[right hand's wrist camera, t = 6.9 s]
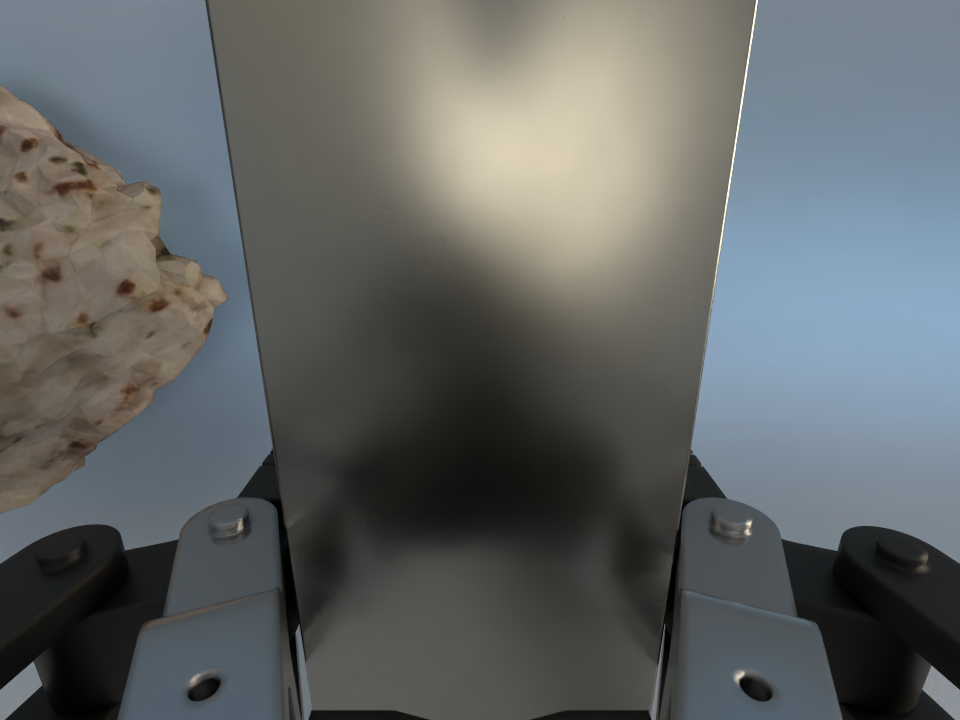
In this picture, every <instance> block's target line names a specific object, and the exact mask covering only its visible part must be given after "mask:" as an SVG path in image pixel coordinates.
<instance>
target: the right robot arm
mask: <svg viewBox="0 0 960 720" xmlns="http://www.w3.org/2000/svg"><path fill="white" fill-rule="evenodd" d="M298 625H299V617H298V610H297V603H296V597H295V590H294V583H293V577H292V570H291V564H290V557H289V550H288V544H287V537H286V530H285V524H284V517H283V511H282V504H281V497H280V491H279V484H278V477H277V471H276V464H275V458H274V451H273V449H272V450H271V454H270V455H268V456H267V457H266V459H265V460H264V461H263V463H262V466H260V467H259V468H258V470H257V471H256V472H255V474H254V475H253V477H252V478H251V479H250V481H249V482H248V483H247V485H246V486H245V488H244V489H243V490H242V492H241V493H240V494H239V496H238V497H237V498H236V499H230V500H226V501H223V502H220V503H216V504H214V505H212V506H209V507H207V508H205V509H203V510H201V511H200V512H198V513H197V514H195V515H194V516H193V517H192V518H190V519H189V520H188V521H187V522H186V523H185V525H184V526H183V528H182V529H181V532H180V535H179V539H178V540H174V541H170V542H166V543H161V544H156V545H151V546H146V547H141V548H136V549H131V550H126V551H125V549H124V545H123V542H122V538H121V535H120V533H119V531H118V530H117V529H115V528H113V527H111V526H107V525H99V524H97V525H83V526H78V527H73V528H69V529H65V530H62V531H59V532H56V533H53V534H51V535H48V536H46V537H44V538H42V539H40V540H38V541H36V542H34V543H32V544H30V545H29V546H27V547H25V548H24V549H22V550H21V551H19V552H18V553H16V554H15V555H13V556H12V557H10V558H9V559H7V560H6V561H4V562H3V563H1V564H0V689H2V688H3V687H4V686H5V685H6V684H7V683H8V682H10V681H11V680H12V679H13V678H14V677H15V676H17V675H18V674H19V673H20V672H21V671H22V670H23V669H25V668H26V667H27V666H28V665H29V664H30V663H32V662H33V661H34V664H35V666H36V669H37V672H38V674H39V677H40V679H41V682H42V686H41V687H40V688H39V689H38V690H37V691H36V692H35V693H34V694H33V695H31V696H30V697H29V698H28V699H27V700H26V701H25V702H24V703H23V704H22V705H21V706H20V707H18V708H17V709H16V710H15V711H14V712H13V713H12V714H11V715H10V716H9V717H8V718H7V719H5V720H304V713H303V701H302V690H301V678H300V666H299V654H298V644H297V637H296V630H297V628H298ZM931 665H932V666H933V667H934V668H935V669H937V670H938V671H939V672H940V673H941V674H942V675H943V676H945V677H946V678H947V679H948V680H949V681H950V682H952V683H953V684H954V685H955V686H956V687H957V688H958V689H960V564H959V563H957V562H956V561H954V560H953V559H951V558H950V557H948V556H947V555H945V554H944V553H942V552H941V551H939V550H938V549H936V548H934V547H933V546H931V545H929V544H927V543H925V542H924V541H922V540H920V539H917V538H915V537H913V536H910V535H907V534H905V533H902V532H898V531H895V530H891V529H887V528H882V527H874V526H859V527H853V528H850V529H848V530H846V531H845V532H844V533H843V535H842V537H841V540H840V544H839V547H838V551H834V550H829V549H824V548H819V547H814V546H809V545H804V544H799V543H795V542H791V541H787V540H783V539H781V535H780V532H779V529H778V528H777V526H776V525H775V523H774V522H773V521H772V520H771V519H770V518H768V517H767V516H766V515H765V514H763V513H762V512H760V511H759V510H757V509H755V508H753V507H751V506H748V505H746V504H744V503H740V502H737V501H734V500H730V499H727V498H726V497H725V495H724V494H723V493H722V491H721V490H720V488H719V487H718V486H717V484H716V483H715V482H714V480H713V479H712V478H711V476H710V475H709V474H708V472H707V471H706V469H705V468H704V467H701V463H700V461H699V460H698V459H697V457H696V456H695V455H693V452H692V450H690V457H689V464H688V470H687V477H686V484H685V490H684V497H683V504H682V510H681V517H680V524H679V530H678V537H677V544H676V550H675V557H674V564H673V570H672V577H671V584H670V590H669V597H668V604H667V610H666V617H665V631H664V637H663V644H662V654H661V666H660V678H659V690H658V701H657V713H656V720H955V719H953V718H952V717H951V716H950V715H949V714H948V713H947V712H946V711H945V710H944V709H943V708H942V707H940V706H939V705H938V704H937V703H936V702H935V701H934V700H933V699H932V698H931V697H930V696H929V695H927V694H926V693H925V692H924V691H923V690H922V688H923V686H924V683H925V681H926V678H927V675H928V673H929V670H930V668H931ZM309 720H429V719H425V718H422V717H418V716H414V715H410V714H407V713H403V712H399V711H395V710H312V711H311V714H310V717H309ZM531 720H651V717H650V714H649V711H648V710H565V711H561V712H557V713H553V714H550V715H546V716H542V717H538V718H535V719H531Z"/></svg>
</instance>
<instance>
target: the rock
mask: <svg viewBox="0 0 960 720" xmlns="http://www.w3.org/2000/svg"><path fill="white" fill-rule="evenodd" d="M161 203H162V196H161V194H160V191H159V189H158V188H156V187H154V186H152V185H150V184H148V183H145V182H139V183H134V184H130V185H126V184H125V183H124V181H123V179H122V177H121V175H120V174H119V173H118V171H117V170H116V169H115V168H113V167H111V166H109V165H108V164H106V163H104V162H102V161H101V160H99V159H97V158H96V157H94V156H92V155H91V154H89V153H87V152H85V151H83V150H81V149H80V148H78V147H76V146H74V145H72V144H70V143H68V142H66V141H64V139H63V138H62V136H61V135H60V133H59V132H58V130H57V129H56V128H55V127H54V126H53V125H51V124H50V123H49V122H48V121H47V120H46V119H45V118H44V117H43V116H42V115H40V114H39V113H38V112H37V111H36V110H35V109H34V108H33V107H32V106H31V105H29V104H27V103H24V102H23V101H21V100H20V99H19V98H17V97H16V96H15V95H13V94H12V93H11V92H9V91H8V90H6V89H5V88H4V87H1V86H0V513H3V512H7V511H10V510H13V509H16V508H19V507H22V506H25V505H28V504H30V503H31V502H33V501H34V500H35V499H37V498H38V497H39V496H41V495H42V494H43V493H45V492H46V491H47V490H48V489H49V488H50V487H51V486H52V485H54V484H56V483H58V482H60V481H62V480H64V479H65V478H66V477H67V476H68V475H69V474H70V473H71V472H73V471H75V470H77V469H79V468H81V467H83V466H85V456H86V455H88V454H89V453H91V452H92V451H94V450H95V449H96V446H97V444H98V443H99V442H101V441H102V440H104V439H106V438H107V437H109V436H110V435H112V434H113V433H115V432H116V431H117V430H118V429H120V428H121V427H122V426H124V425H125V424H126V423H127V422H129V421H130V420H131V419H133V418H134V417H135V416H137V415H138V414H139V413H140V412H141V411H142V410H144V409H145V408H146V407H147V406H148V405H149V404H151V403H152V402H153V394H154V393H155V390H156V389H158V388H160V387H162V386H164V385H166V384H168V383H170V382H172V381H173V380H175V379H176V378H177V376H178V375H179V374H180V373H181V372H182V370H183V369H184V368H185V367H186V365H187V364H188V363H189V362H190V361H191V359H192V358H193V357H194V356H195V355H196V354H197V352H198V351H199V350H200V349H201V348H202V347H203V345H204V344H205V341H206V339H207V336H208V333H209V331H210V327H211V323H212V320H213V315H214V310H215V308H216V307H217V306H219V305H220V304H221V303H223V302H224V301H226V300H227V299H229V298H228V296H227V294H226V293H225V291H224V289H223V288H222V286H221V284H220V283H219V281H218V280H217V279H215V278H214V277H212V276H208V275H203V274H202V272H201V268H200V265H199V264H198V263H197V262H196V261H195V260H192V259H188V258H184V257H180V256H177V255H173V254H170V253H169V251H168V250H167V248H166V247H165V245H164V244H163V242H162V241H161V239H160V238H159V236H158V233H159V222H160V212H161Z"/></svg>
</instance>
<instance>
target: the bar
mask: <svg viewBox="0 0 960 720" xmlns="http://www.w3.org/2000/svg"><path fill="white" fill-rule="evenodd" d="M205 1H206V7H207V14H208V21H209V27H210V34H211V41H212V47H213V54H214V60H215V67H216V74H217V80H218V87H219V94H220V100H221V107H222V113H223V120H224V127H225V133H226V140H227V146H228V153H229V160H230V166H231V173H232V180H233V186H234V193H235V199H236V206H237V213H238V219H239V226H240V233H241V239H242V246H243V252H244V259H245V266H246V272H247V279H248V286H249V292H250V299H251V305H252V312H253V319H254V325H255V332H256V338H257V345H258V352H259V358H260V365H261V372H262V378H263V385H264V391H265V398H266V405H267V411H268V418H269V425H270V431H271V438H272V444H273V451H274V458H275V464H276V471H277V477H278V484H279V491H280V497H281V504H282V511H283V517H284V524H285V530H286V537H287V544H288V550H289V557H290V564H291V570H292V577H293V583H294V590H295V597H296V603H297V610H298V617H299V623H300V630H301V636H302V643H303V650H304V656H305V663H306V669H307V676H308V683H309V689H310V696H311V703H312V709H313V710H395V711H399V712H403V713H407V714H410V715H414V716H418V717H422V718H425V719H429V720H531V719H535V718H538V717H542V716H546V715H550V714H553V713H557V712H561V711H565V710H648V711H649V714H650V717H651V710H652V703H653V697H654V690H655V683H656V677H657V670H658V663H659V657H660V650H661V643H662V637H663V630H664V624H665V617H666V610H667V604H668V597H669V590H670V584H671V577H672V570H673V564H674V557H675V550H676V544H677V537H678V530H679V524H680V517H681V510H682V504H683V497H684V490H685V484H686V477H687V470H688V464H689V457H690V450H691V444H692V437H693V431H694V424H695V417H696V411H697V404H698V397H699V391H700V384H701V377H702V371H703V364H704V357H705V351H706V344H707V337H708V331H709V324H710V317H711V311H712V304H713V297H714V291H715V284H716V277H717V271H718V264H719V257H720V251H721V244H722V238H723V231H724V224H725V218H726V211H727V204H728V198H729V191H730V184H731V178H732V171H733V164H734V158H735V151H736V144H737V138H738V131H739V124H740V118H741V111H742V104H743V98H744V91H745V84H746V78H747V71H748V64H749V58H750V51H751V45H752V38H753V31H754V25H755V18H756V11H757V5H758V0H205Z"/></svg>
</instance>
